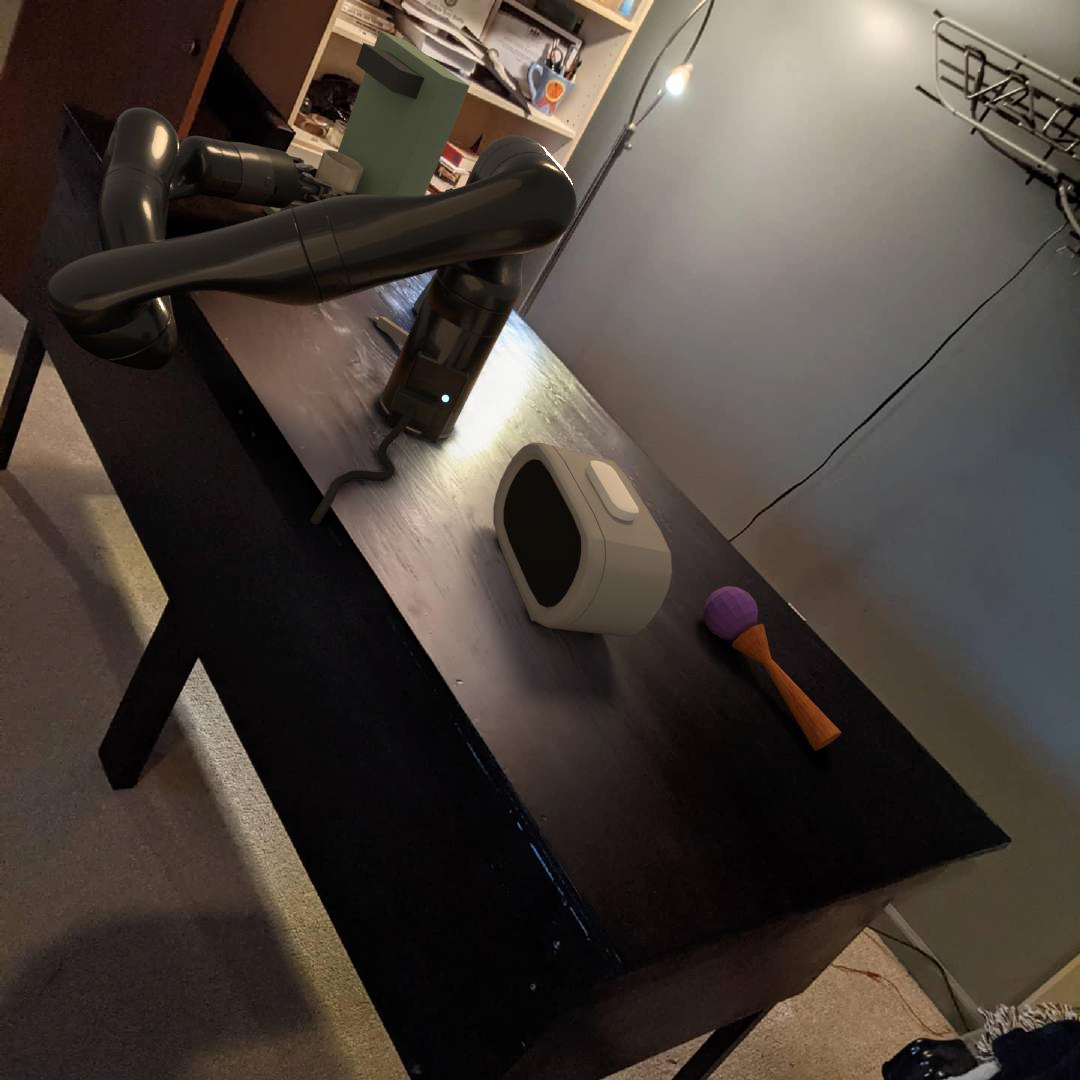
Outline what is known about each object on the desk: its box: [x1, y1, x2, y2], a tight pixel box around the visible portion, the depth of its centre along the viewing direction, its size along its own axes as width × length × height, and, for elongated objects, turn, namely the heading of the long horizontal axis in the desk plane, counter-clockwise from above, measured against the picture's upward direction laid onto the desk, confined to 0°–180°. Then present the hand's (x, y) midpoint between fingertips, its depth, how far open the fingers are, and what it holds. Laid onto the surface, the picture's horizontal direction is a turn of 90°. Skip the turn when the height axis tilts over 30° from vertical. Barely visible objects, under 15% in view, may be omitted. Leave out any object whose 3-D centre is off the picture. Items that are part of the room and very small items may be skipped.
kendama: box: [702, 585, 842, 752], centre depth 91 cm, size 6×6×20 cm
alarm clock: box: [492, 441, 673, 638], centre depth 84 cm, size 21×10×13 cm, turn 21°
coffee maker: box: [264, 30, 470, 216], centre depth 125 cm, size 16×14×29 cm
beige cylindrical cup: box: [306, 149, 364, 204], centre depth 126 cm, size 6×6×11 cm
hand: (345, 191), depth 128 cm, fingers closed on beige cylindrical cup, 6 cm apart
